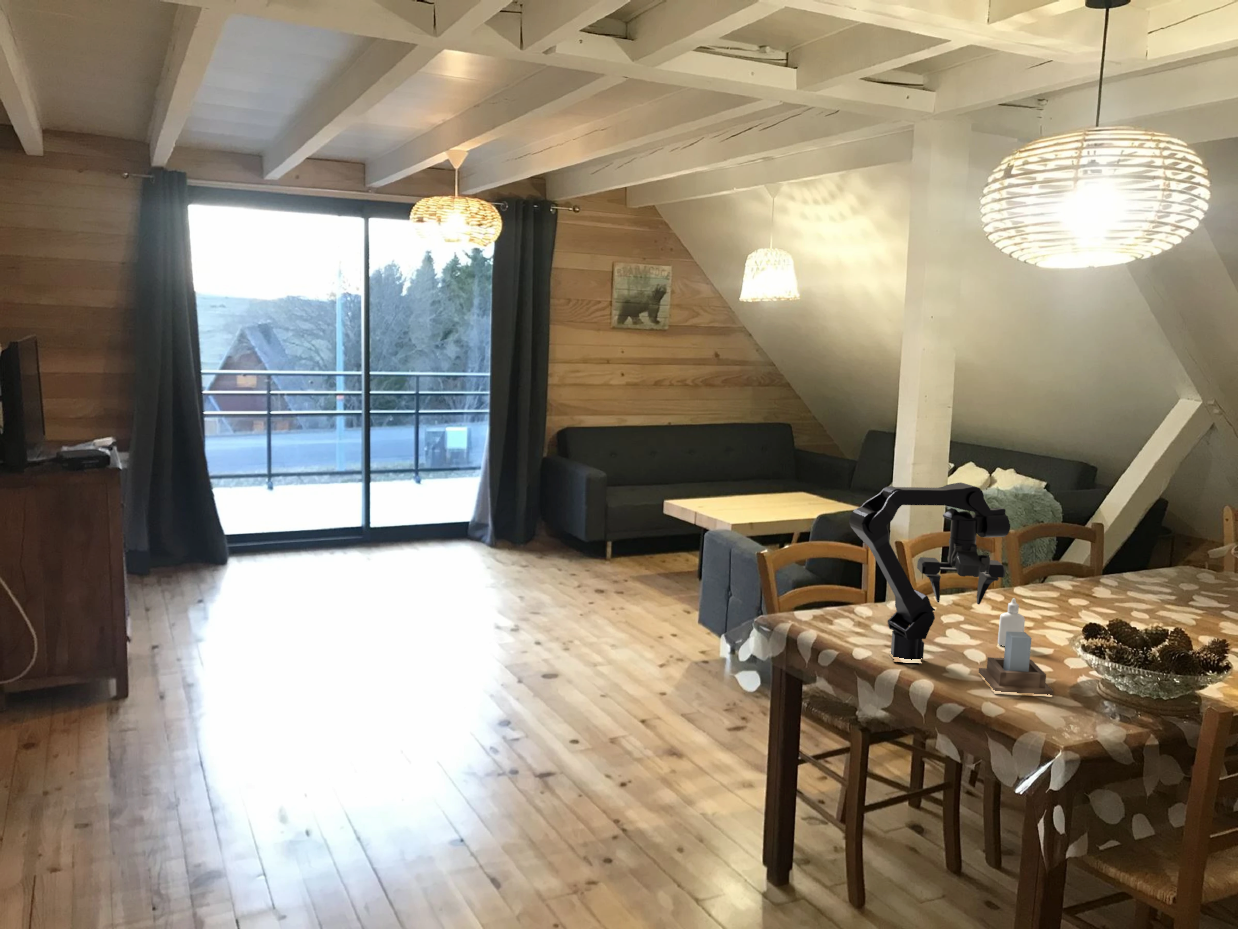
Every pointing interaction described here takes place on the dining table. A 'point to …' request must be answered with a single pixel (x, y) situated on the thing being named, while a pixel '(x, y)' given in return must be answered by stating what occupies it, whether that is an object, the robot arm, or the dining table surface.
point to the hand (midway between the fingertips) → (958, 603)
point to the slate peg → (1017, 651)
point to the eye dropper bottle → (1010, 622)
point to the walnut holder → (1015, 678)
